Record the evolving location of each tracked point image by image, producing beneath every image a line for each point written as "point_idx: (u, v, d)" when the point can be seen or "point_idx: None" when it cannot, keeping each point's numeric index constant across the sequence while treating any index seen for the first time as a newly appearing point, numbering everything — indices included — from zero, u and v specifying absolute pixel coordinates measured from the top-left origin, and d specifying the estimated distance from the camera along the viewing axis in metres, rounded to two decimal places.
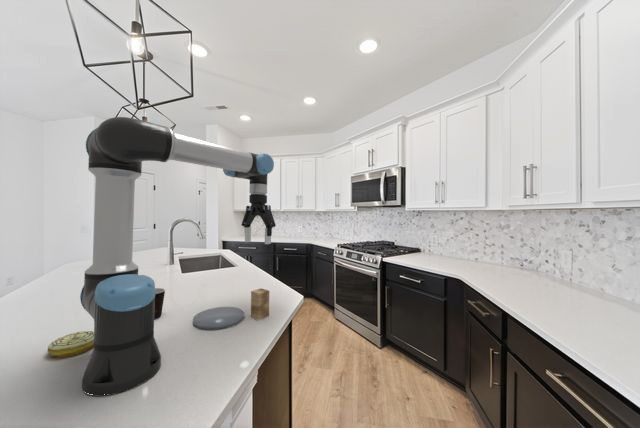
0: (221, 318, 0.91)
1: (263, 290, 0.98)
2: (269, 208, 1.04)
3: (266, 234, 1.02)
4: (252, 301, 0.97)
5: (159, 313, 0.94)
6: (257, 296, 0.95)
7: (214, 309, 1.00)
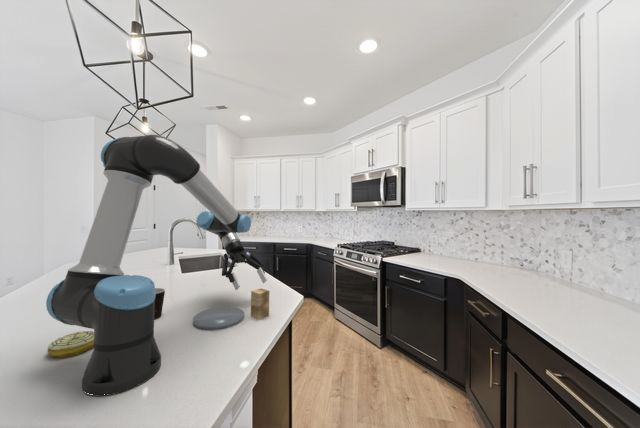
0: (221, 318, 0.91)
1: (263, 290, 0.98)
2: None
3: (262, 272, 1.10)
4: (252, 301, 0.97)
5: (159, 313, 0.94)
6: (257, 296, 0.95)
7: (214, 309, 1.00)
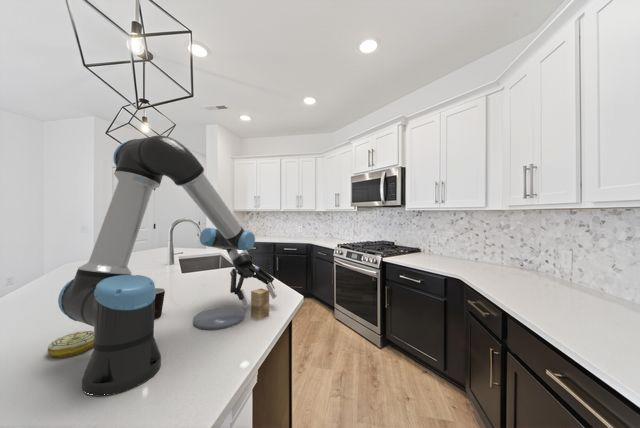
0: (221, 318, 0.91)
1: (263, 290, 0.98)
2: None
3: (272, 287, 1.05)
4: (252, 301, 0.97)
5: (159, 313, 0.94)
6: (257, 296, 0.95)
7: (214, 309, 1.00)
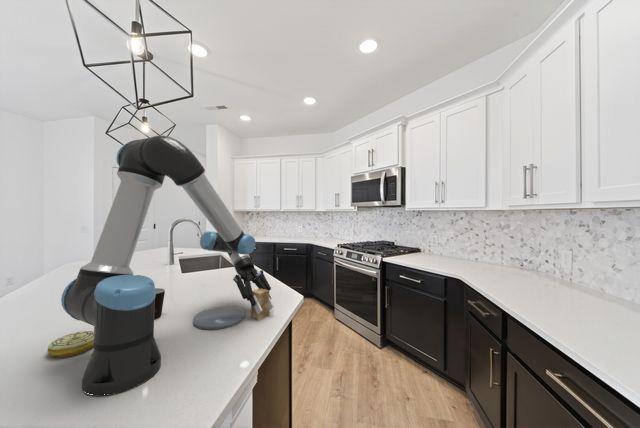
0: (221, 318, 0.91)
1: (263, 290, 0.98)
2: None
3: (269, 297, 0.99)
4: None
5: (159, 313, 0.94)
6: (257, 296, 0.95)
7: (214, 309, 1.00)
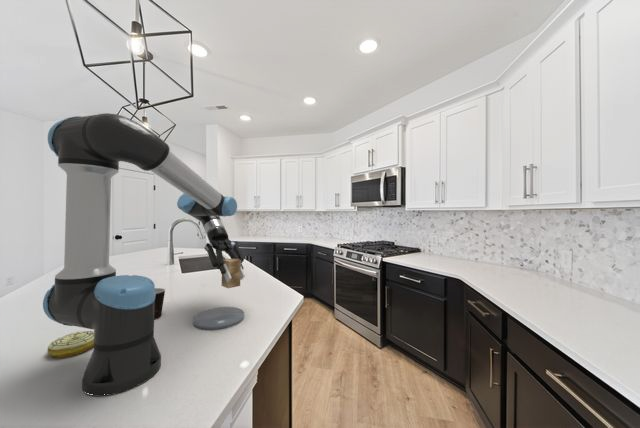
0: (221, 318, 0.91)
1: (235, 259, 0.96)
2: None
3: (241, 267, 0.96)
4: None
5: (159, 313, 0.94)
6: (227, 264, 0.92)
7: (214, 309, 1.00)
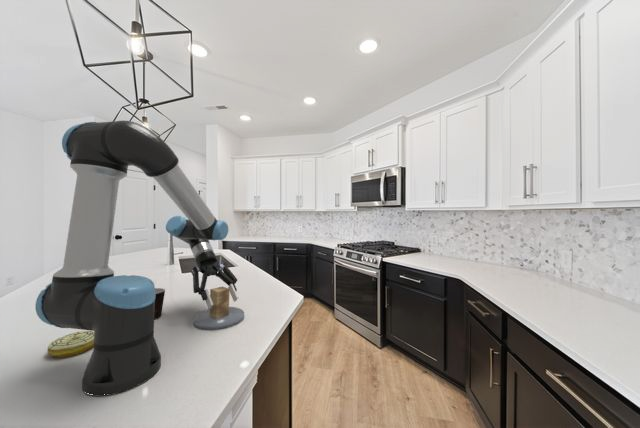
0: (221, 318, 0.91)
1: (223, 288, 0.95)
2: None
3: None
4: None
5: (159, 313, 0.94)
6: (215, 294, 0.91)
7: None
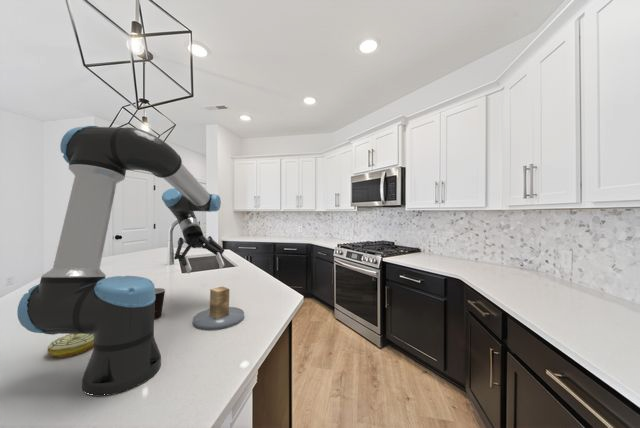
0: (221, 318, 0.91)
1: (223, 288, 0.95)
2: None
3: None
4: (211, 300, 0.93)
5: (159, 313, 0.94)
6: (215, 294, 0.91)
7: None
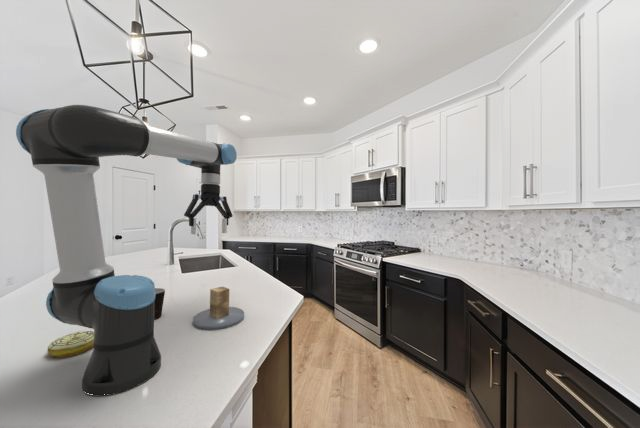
0: (221, 318, 0.91)
1: (223, 288, 0.95)
2: None
3: None
4: (211, 300, 0.93)
5: (159, 313, 0.94)
6: (215, 294, 0.91)
7: None
